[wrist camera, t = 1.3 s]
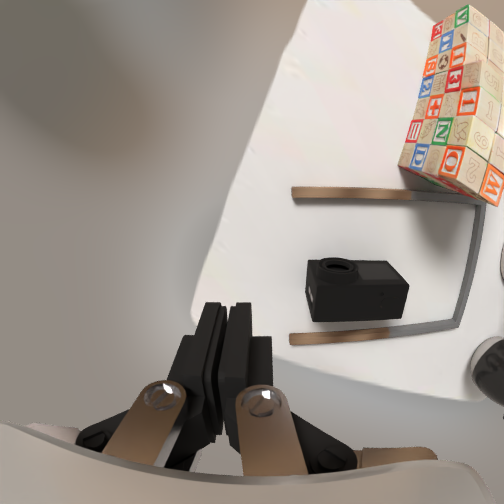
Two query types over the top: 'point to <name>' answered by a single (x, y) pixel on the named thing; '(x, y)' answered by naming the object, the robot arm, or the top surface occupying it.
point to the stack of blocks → (461, 109)
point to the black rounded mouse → (490, 369)
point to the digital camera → (354, 290)
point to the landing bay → (470, 266)
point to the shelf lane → (344, 193)
